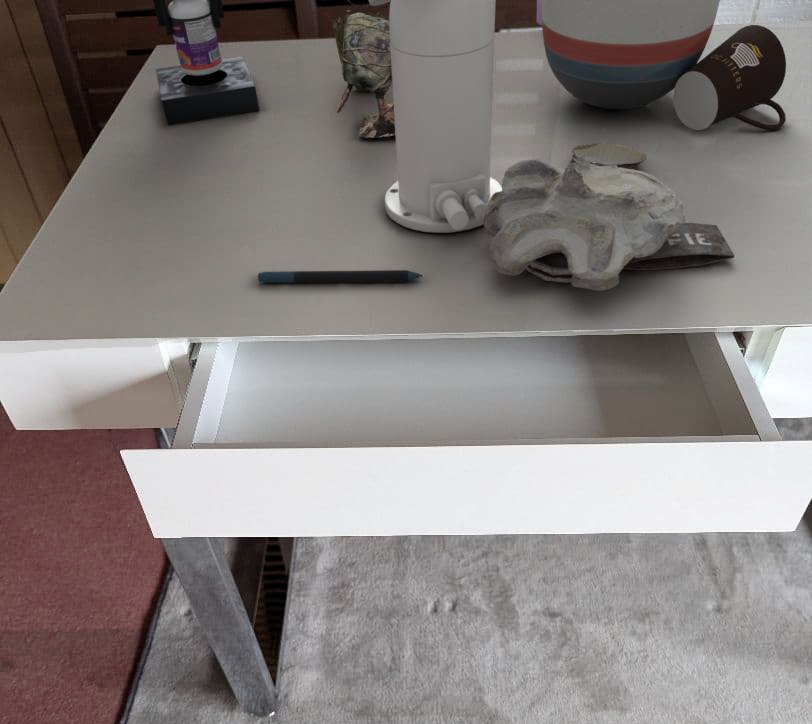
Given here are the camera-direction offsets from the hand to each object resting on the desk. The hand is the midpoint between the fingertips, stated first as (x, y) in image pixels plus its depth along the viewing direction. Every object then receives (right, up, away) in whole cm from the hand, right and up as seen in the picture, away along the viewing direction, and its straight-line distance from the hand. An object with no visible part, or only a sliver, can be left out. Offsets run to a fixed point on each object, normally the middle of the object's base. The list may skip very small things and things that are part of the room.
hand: (193, 26), depth 101 cm
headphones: (+23, +7, +17) cm, 29 cm away
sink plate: (0, -6, +7) cm, 9 cm away
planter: (+53, -10, 0) cm, 54 cm away
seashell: (+49, -24, -13) cm, 56 cm away
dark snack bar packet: (+48, -39, -25) cm, 66 cm away
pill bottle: (0, -3, +4) cm, 5 cm away
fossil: (+47, -34, -22) cm, 62 cm away
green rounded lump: (+22, -4, +7) cm, 23 cm away
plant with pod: (+24, -14, -2) cm, 28 cm away
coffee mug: (+61, -16, -10) cm, 64 cm away
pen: (+27, -42, -29) cm, 58 cm away
